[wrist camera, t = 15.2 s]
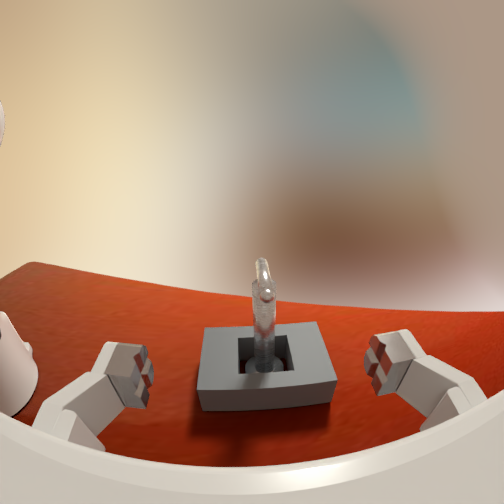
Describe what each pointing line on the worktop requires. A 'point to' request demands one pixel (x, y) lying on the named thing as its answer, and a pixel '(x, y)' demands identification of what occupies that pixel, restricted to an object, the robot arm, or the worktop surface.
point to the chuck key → (264, 322)
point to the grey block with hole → (264, 384)
